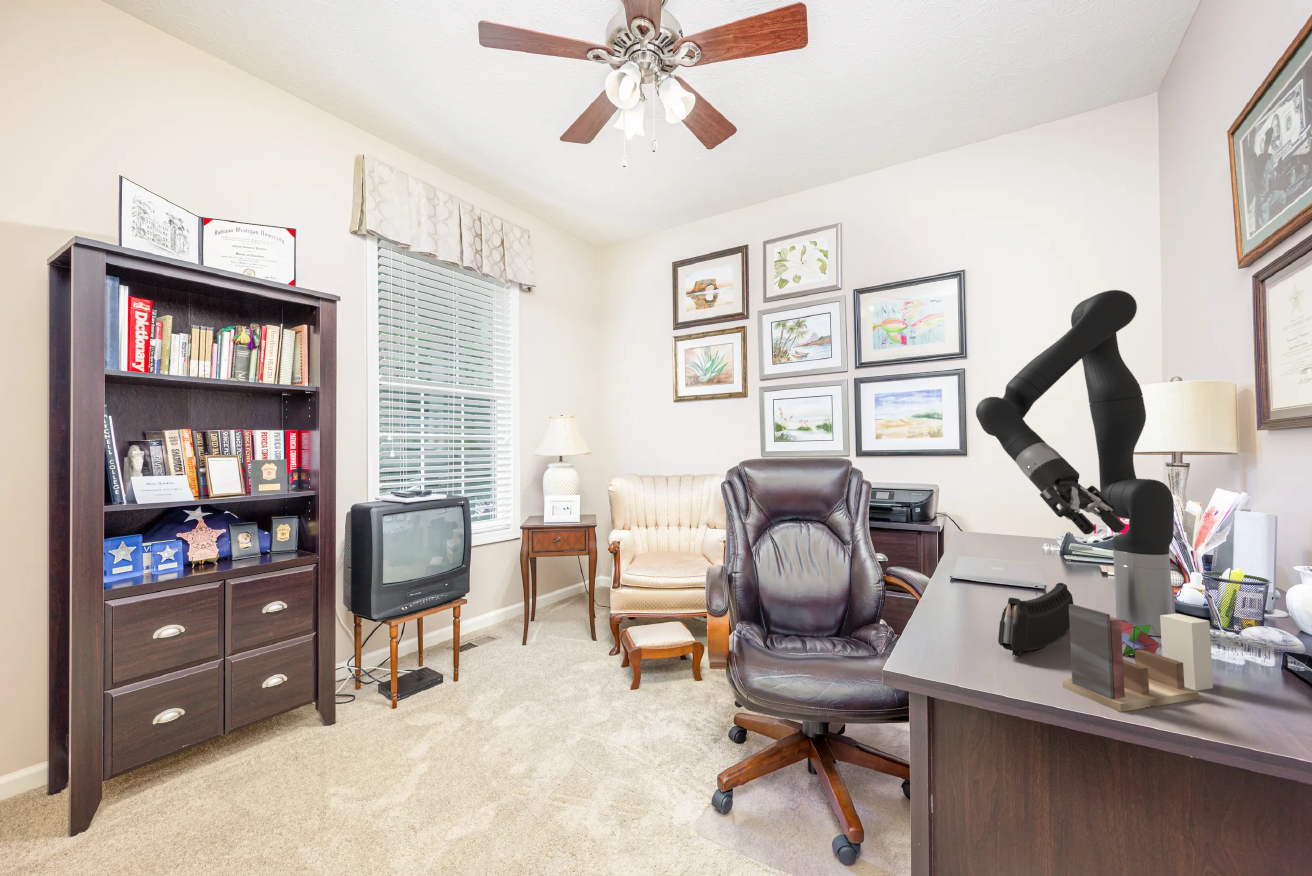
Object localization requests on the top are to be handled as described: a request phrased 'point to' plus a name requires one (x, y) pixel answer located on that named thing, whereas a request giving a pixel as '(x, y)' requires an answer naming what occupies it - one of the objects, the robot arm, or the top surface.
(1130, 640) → the geometric puzzle
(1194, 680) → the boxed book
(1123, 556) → the robot arm
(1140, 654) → the book rack
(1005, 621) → the magazine
